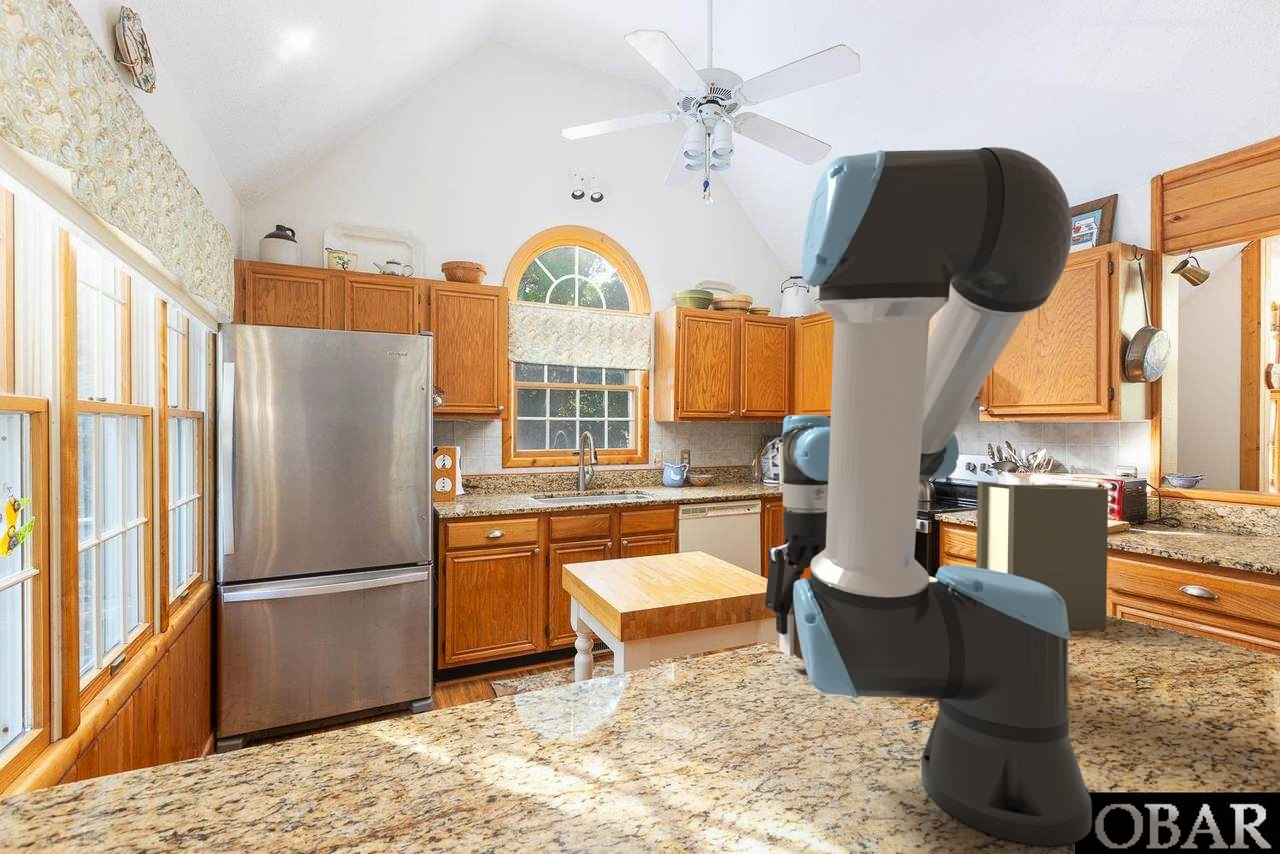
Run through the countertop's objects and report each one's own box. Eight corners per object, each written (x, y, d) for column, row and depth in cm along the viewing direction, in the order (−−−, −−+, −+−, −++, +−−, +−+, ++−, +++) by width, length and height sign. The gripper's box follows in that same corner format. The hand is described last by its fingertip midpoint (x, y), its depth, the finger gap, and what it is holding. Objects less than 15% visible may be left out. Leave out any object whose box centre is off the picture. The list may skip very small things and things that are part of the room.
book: (1067, 617, 125) (1069, 482, 125) (1109, 631, 115) (1111, 486, 116) (975, 620, 121) (977, 481, 121) (1011, 635, 112) (1014, 485, 112)
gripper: (767, 516, 90) (768, 667, 90) (872, 508, 98) (872, 647, 98) (740, 510, 97) (741, 650, 97) (840, 503, 105) (840, 633, 105)
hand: (807, 649), depth 98 cm, fingers closed on mug, 7 cm apart
